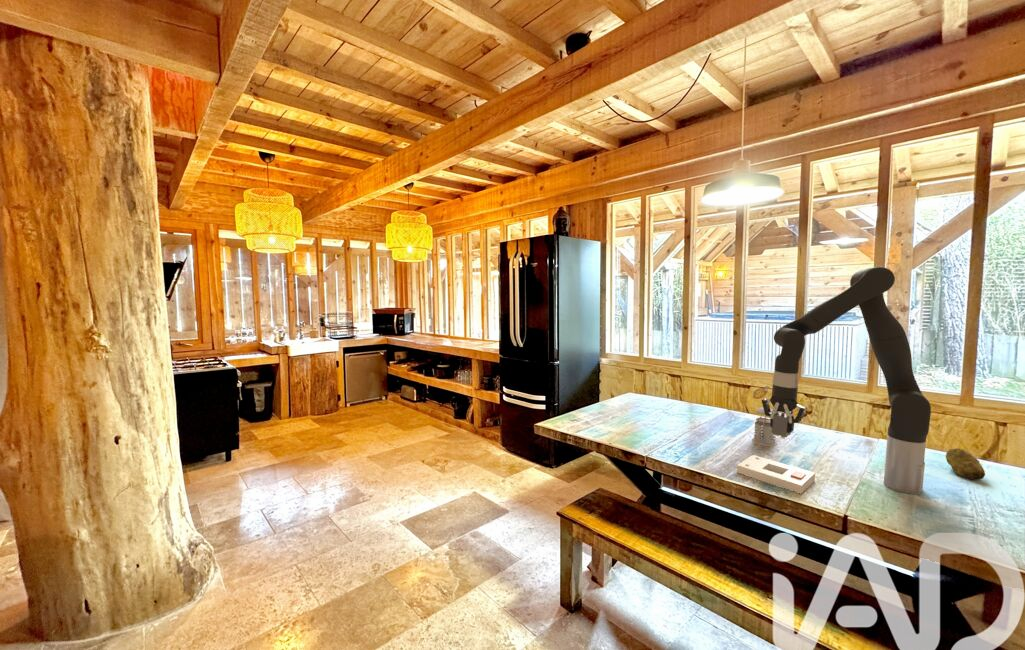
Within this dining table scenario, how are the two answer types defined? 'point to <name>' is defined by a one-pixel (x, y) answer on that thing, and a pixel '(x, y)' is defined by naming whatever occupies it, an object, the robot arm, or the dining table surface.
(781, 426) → the plug
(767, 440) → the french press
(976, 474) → the potato
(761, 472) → the socket plate
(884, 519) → the dining table surface
